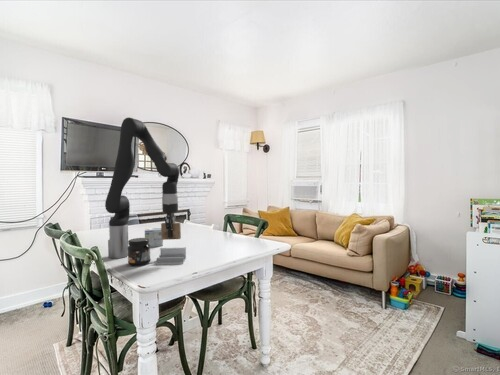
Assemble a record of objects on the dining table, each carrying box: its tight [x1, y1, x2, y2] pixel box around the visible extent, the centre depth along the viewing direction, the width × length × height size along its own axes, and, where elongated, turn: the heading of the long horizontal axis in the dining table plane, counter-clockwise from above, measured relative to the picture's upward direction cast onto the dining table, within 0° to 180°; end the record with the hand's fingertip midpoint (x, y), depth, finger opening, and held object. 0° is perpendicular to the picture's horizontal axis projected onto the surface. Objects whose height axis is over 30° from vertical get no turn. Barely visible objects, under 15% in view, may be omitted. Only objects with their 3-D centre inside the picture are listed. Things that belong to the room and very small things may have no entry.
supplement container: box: [127, 237, 151, 267], centre depth 137 cm, size 10×10×12 cm
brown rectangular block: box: [160, 222, 182, 241], centre depth 138 cm, size 9×3×8 cm, turn 93°
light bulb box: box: [144, 227, 164, 248], centre depth 173 cm, size 11×7×11 cm, turn 108°
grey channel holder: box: [155, 246, 187, 266], centre depth 139 cm, size 13×9×6 cm
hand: (171, 236), depth 138 cm, fingers closed on brown rectangular block, 2 cm apart
